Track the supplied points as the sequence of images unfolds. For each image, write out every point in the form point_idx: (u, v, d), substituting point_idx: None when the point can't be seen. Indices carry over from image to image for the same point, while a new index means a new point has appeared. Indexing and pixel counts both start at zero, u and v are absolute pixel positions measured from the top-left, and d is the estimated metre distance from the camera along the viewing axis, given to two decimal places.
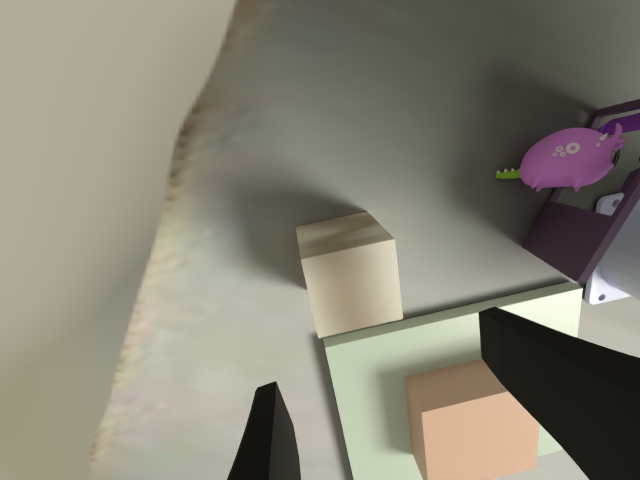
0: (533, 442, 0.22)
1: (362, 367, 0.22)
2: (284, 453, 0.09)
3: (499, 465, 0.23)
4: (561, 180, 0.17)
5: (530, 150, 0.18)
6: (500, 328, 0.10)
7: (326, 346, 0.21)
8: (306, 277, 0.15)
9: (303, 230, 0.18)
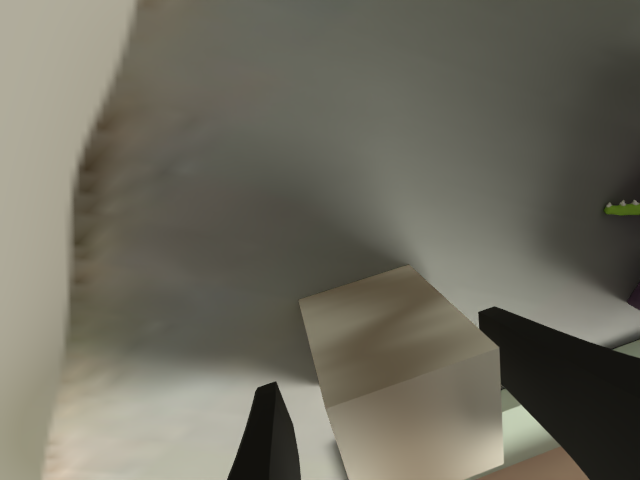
0: None
1: None
2: (284, 453, 0.09)
3: None
4: None
5: None
6: (500, 328, 0.10)
7: None
8: (337, 435, 0.08)
9: (313, 311, 0.11)
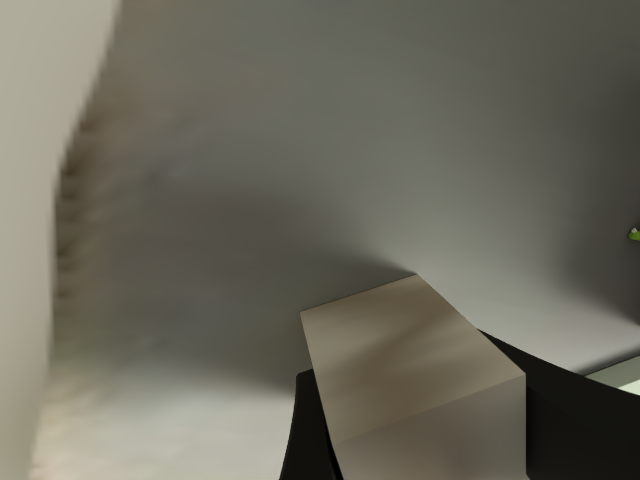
0: None
1: None
2: None
3: None
4: None
5: None
6: None
7: None
8: (345, 472, 0.07)
9: (316, 326, 0.10)
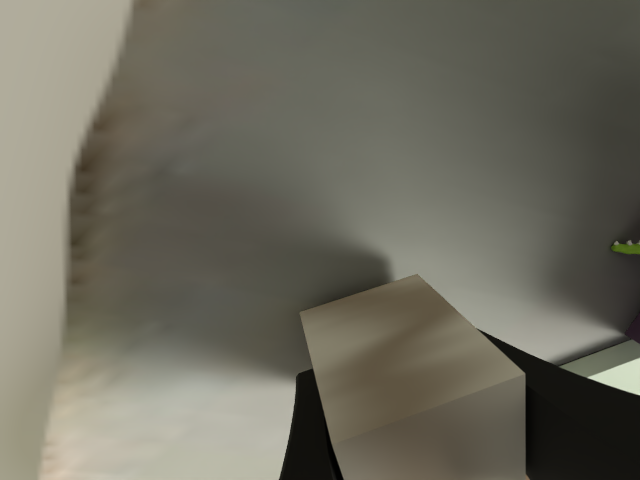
0: None
1: None
2: None
3: None
4: None
5: None
6: None
7: None
8: (345, 472, 0.07)
9: (316, 325, 0.10)
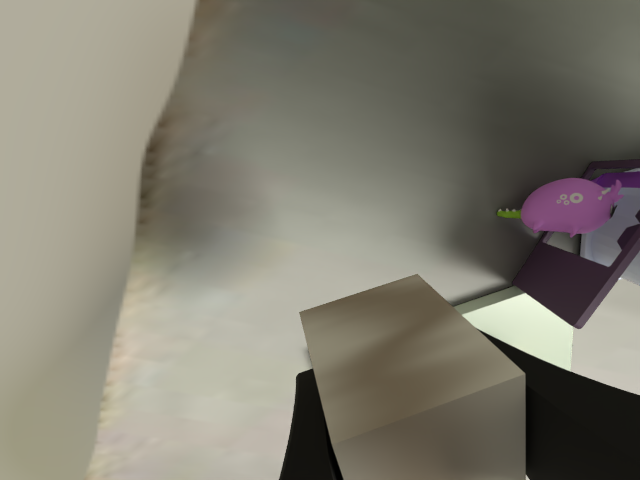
0: None
1: None
2: None
3: None
4: (561, 226, 0.18)
5: (534, 194, 0.18)
6: None
7: None
8: (345, 472, 0.07)
9: (316, 326, 0.10)
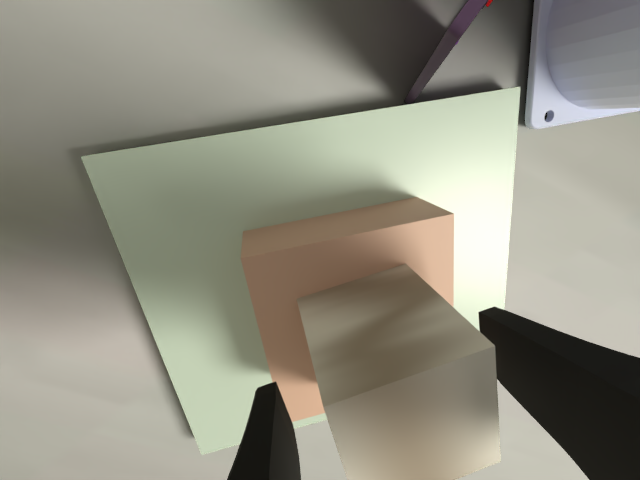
0: None
1: (162, 204, 0.13)
2: (284, 453, 0.09)
3: None
4: None
5: None
6: (500, 328, 0.10)
7: None
8: (335, 433, 0.08)
9: (312, 310, 0.11)
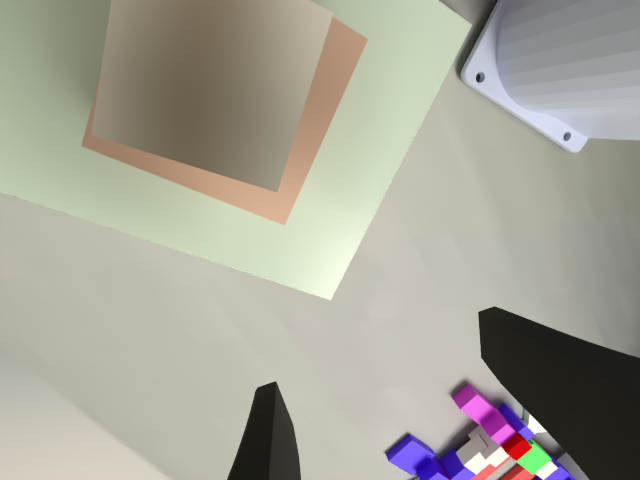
0: (303, 165, 0.13)
1: None
2: (284, 453, 0.09)
3: None
4: None
5: None
6: (500, 328, 0.10)
7: None
8: None
9: None
